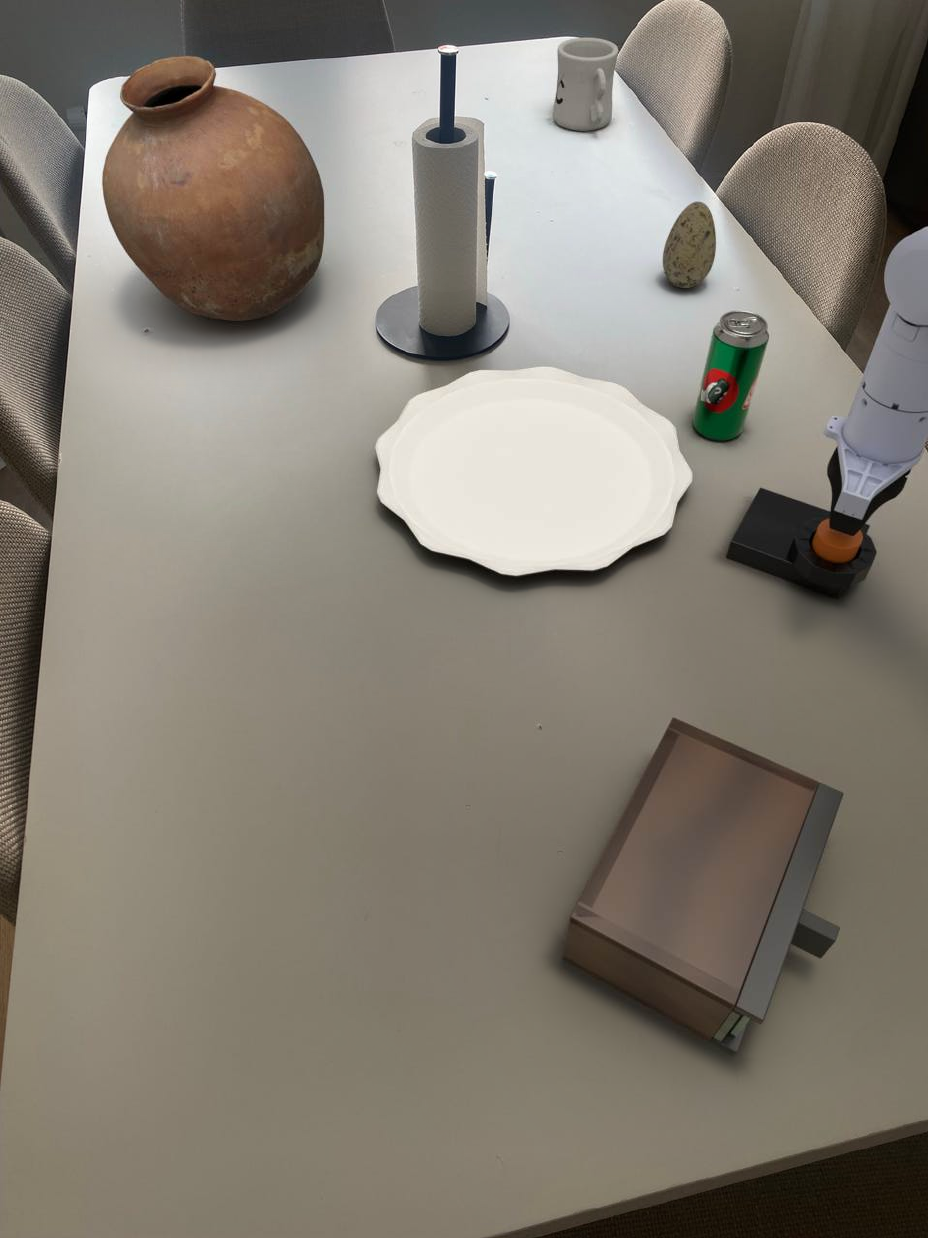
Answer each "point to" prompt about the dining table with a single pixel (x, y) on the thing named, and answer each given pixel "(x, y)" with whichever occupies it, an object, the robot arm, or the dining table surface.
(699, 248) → the decorative egg
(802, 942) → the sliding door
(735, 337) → the soda can
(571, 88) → the mug
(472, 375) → the plate
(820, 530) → the button
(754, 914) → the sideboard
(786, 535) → the control box
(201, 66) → the pottery
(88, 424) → the dining table surface
